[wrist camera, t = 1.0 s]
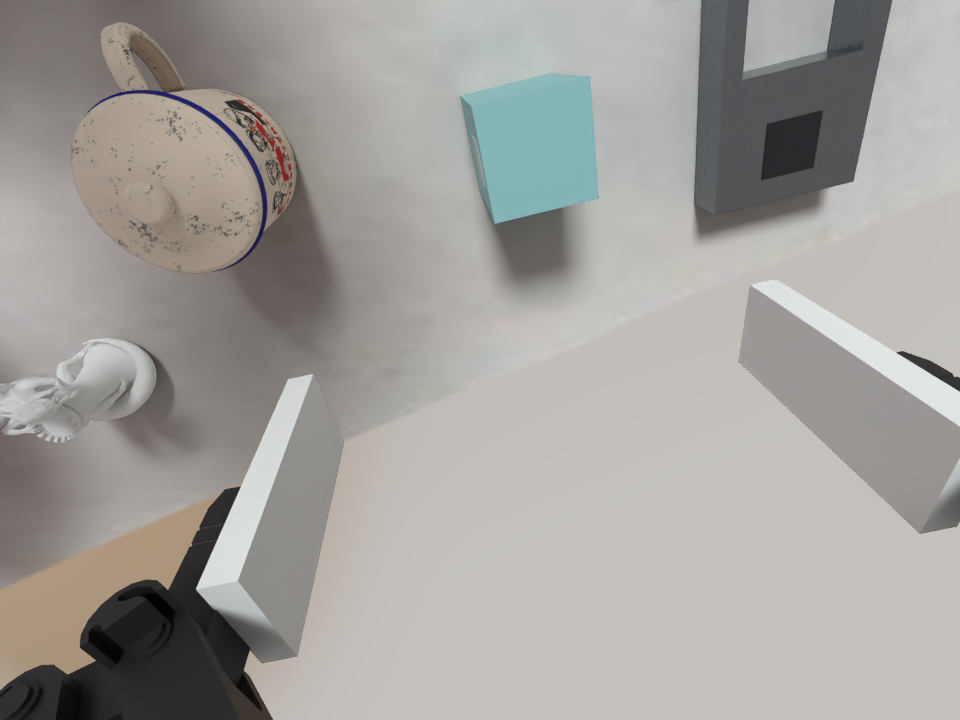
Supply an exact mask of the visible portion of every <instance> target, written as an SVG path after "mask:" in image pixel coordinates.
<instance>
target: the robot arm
mask: <svg viewBox="0 0 960 720" xmlns="http://www.w3.org/2000/svg"><path fill="white" fill-rule="evenodd" d="M739 363H740V364H741V365H742V366H743V367H744V368H746V369H747V370H748V371H749V372H750V373H751V374H752V375H753V376H754V377H755V378H756V379H757V380H758V381H759V382H760V383H761V384H762V385H763V386H765V387H766V388H767V389H768V390H769V391H770V392H771V393H772V394H773V395H774V396H775V397H776V398H777V399H778V400H779V401H780V402H781V403H782V404H783V405H785V406H786V407H787V408H788V409H789V410H790V411H791V412H792V413H793V414H794V415H795V416H796V417H797V418H798V419H799V420H800V421H801V422H803V423H804V424H805V425H806V426H807V427H808V428H809V429H810V430H811V431H812V432H813V433H814V434H815V435H816V436H817V437H818V438H819V439H820V440H822V442H824V443H825V444H826V445H827V446H828V447H829V448H830V449H831V450H832V451H833V452H834V453H835V454H836V455H837V456H838V457H840V459H841V460H843V461H844V462H845V463H846V464H847V465H848V466H849V467H850V468H851V469H852V470H853V471H854V472H855V473H856V474H857V475H858V476H860V477H861V479H863V480H864V481H865V482H866V483H867V484H868V485H869V486H870V487H871V488H872V489H873V490H874V491H875V492H876V493H877V494H878V495H879V496H881V498H883V499H884V500H885V501H886V502H887V503H888V504H889V505H890V506H891V507H892V508H893V509H894V510H895V511H896V512H897V513H898V514H900V516H902V517H903V518H904V519H905V520H906V521H907V522H908V523H909V524H910V525H911V526H912V527H913V528H914V529H915V530H917V532H918V533H920V534H922V533H926V532H931V531H937V530H941V529H947V528H952V527H957V525H958V524H959V522H960V378H959V377H954V376H953V374H952V373H950V372H949V371H947V370H945V369H944V368H942V367H940V366H938V365H937V364H935V363H933V362H931V361H929V360H927V359H923V358H921V357H918V356H915V355H912V354H909V353H906V352H903V351H901V352H897V353H895V352H894V351H892V350H891V349H889V348H887V347H886V346H884V345H882V344H881V343H879V342H878V341H876V340H874V339H873V338H871V337H869V336H868V335H866V334H864V333H863V332H861V331H860V330H858V329H856V328H855V327H853V326H851V325H850V324H848V323H846V322H845V321H843V320H841V319H840V318H838V317H836V316H835V315H833V314H832V313H830V312H828V311H827V310H825V309H823V308H822V307H820V306H819V305H817V304H815V303H814V302H812V301H810V300H809V299H807V298H806V297H804V296H802V295H801V294H799V293H797V292H796V291H794V290H792V289H791V288H789V287H788V286H786V285H784V284H783V283H781V282H779V281H778V280H775V279H774V280H770V281H765V282H760V283H755V284H750V288H749V294H748V301H747V308H746V315H745V322H744V328H743V335H742V342H741V349H740V356H739ZM343 445H344V440H343V438H342V436H341V434H340V432H339V429H338V427H337V425H336V423H335V421H334V418H333V416H332V414H331V412H330V410H329V407H328V405H327V403H326V401H325V399H324V396H323V394H322V392H321V390H320V388H319V385H318V383H317V381H316V379H315V377H314V374H311V375H306V376H301V377H296V378H291V379H288V381H287V383H286V385H285V388H284V390H283V392H282V394H281V397H280V399H279V401H278V403H277V406H276V408H275V410H274V413H273V415H272V417H271V419H270V422H269V424H268V426H267V429H266V431H265V433H264V435H263V438H262V440H261V442H260V444H259V447H258V449H257V451H256V454H255V456H254V458H253V460H252V463H251V465H250V467H249V469H248V472H247V474H246V476H245V479H244V481H243V483H242V485H241V486H240V487H235V488H230V489H225V490H224V491H223V492H222V494H221V495H220V496H219V497H218V498H217V499H216V500H215V502H214V503H213V504H212V505H211V506H210V507H209V508H208V511H207V512H206V514H205V517H204V519H203V521H202V523H201V525H200V530H199V531H197V533H196V535H195V537H194V539H193V541H192V547H189V549H188V551H187V553H186V555H185V557H184V559H183V561H182V563H181V565H180V568H179V569H178V572H177V574H176V576H175V578H174V580H173V582H172V584H171V586H170V588H169V590H167V589H166V588H165V587H164V586H163V585H162V584H161V583H160V582H158V581H157V580H143V581H139V582H136V583H133V584H130V585H129V586H127V587H125V588H123V589H122V590H120V591H118V592H116V593H115V594H114V595H113V596H111V597H110V598H109V599H108V600H107V601H105V602H104V603H103V604H102V605H101V606H100V607H99V608H98V609H97V610H96V612H95V613H94V614H93V615H92V617H90V619H89V620H88V622H87V624H86V626H85V628H84V630H83V632H82V634H81V639H80V648H81V649H82V650H84V651H85V652H86V653H87V654H89V655H90V656H91V657H93V658H94V659H95V660H96V661H95V662H93V663H91V664H89V665H87V666H85V667H83V668H81V669H79V670H77V671H75V672H73V673H70V674H68V675H67V674H66V673H64V672H63V671H62V670H60V669H59V668H57V667H56V666H55V665H41V666H38V667H36V668H33V669H31V670H29V671H26V672H24V673H23V674H21V675H20V676H18V677H17V678H15V679H14V680H12V681H11V682H9V683H8V684H7V685H6V686H5V687H3V689H1V690H0V720H273V719H272V717H271V715H270V713H269V712H268V710H267V708H266V706H265V704H264V702H263V700H262V698H261V697H260V695H259V693H258V691H257V689H256V687H255V686H254V684H253V682H252V680H251V678H250V676H248V674H247V673H246V672H245V671H244V667H245V664H246V660H247V657H248V654H249V651H251V652H252V653H253V654H254V655H255V656H256V658H257V659H258V660H259V661H260V662H261V663H266V662H271V661H277V660H282V659H287V658H291V657H297V656H298V651H299V646H300V642H301V638H302V633H303V628H304V624H305V619H306V615H307V610H308V605H309V600H310V596H311V592H312V587H313V582H314V578H315V573H316V568H317V564H318V559H319V555H320V550H321V546H322V541H323V537H324V531H325V527H326V522H327V518H328V513H329V508H330V504H331V499H332V495H333V491H334V486H335V481H336V477H337V472H338V468H339V463H340V459H341V454H342V449H343Z"/></svg>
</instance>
